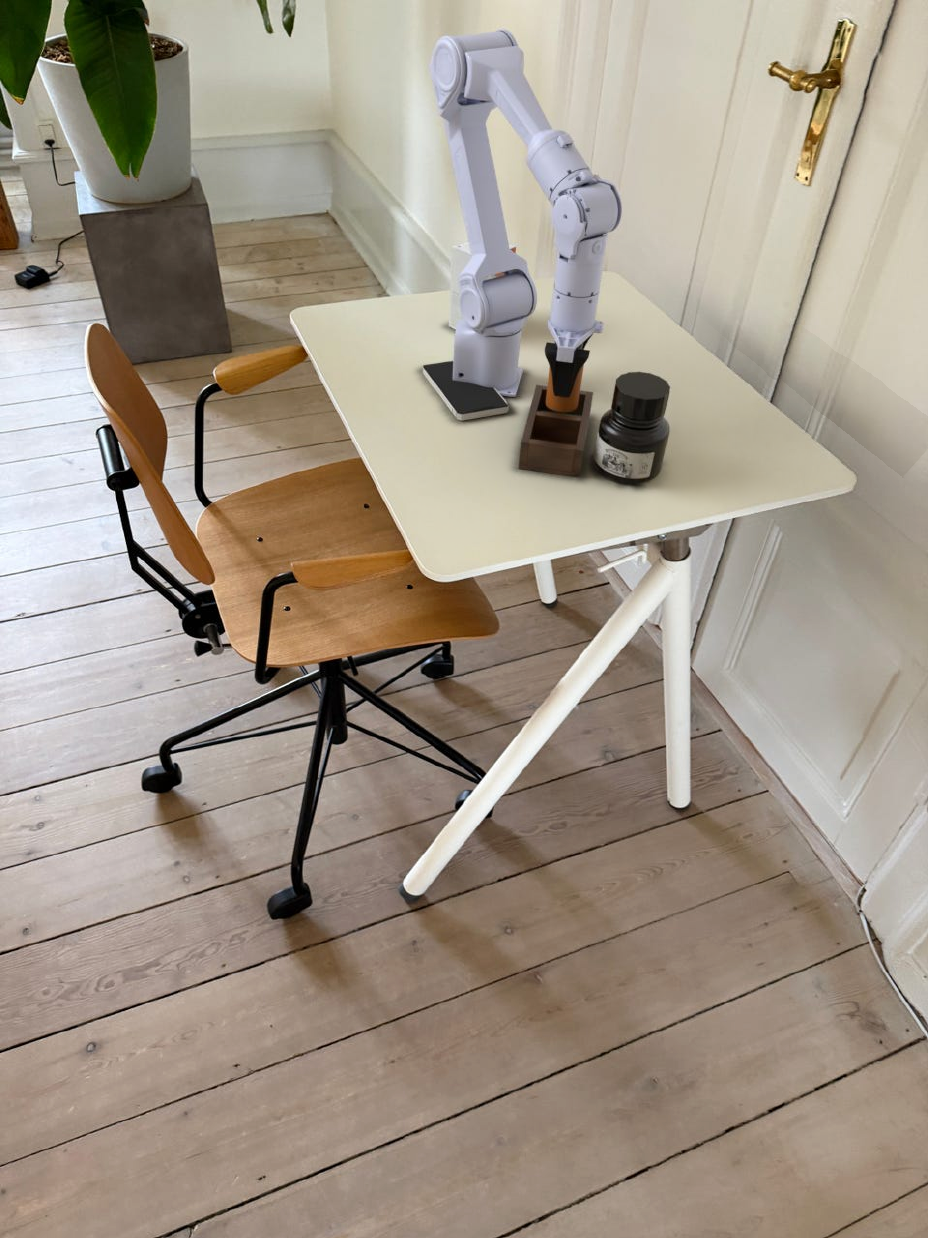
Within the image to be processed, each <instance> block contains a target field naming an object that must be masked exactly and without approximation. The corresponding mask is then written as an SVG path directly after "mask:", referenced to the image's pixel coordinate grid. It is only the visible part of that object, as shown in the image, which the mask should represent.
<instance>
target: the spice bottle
mask: <svg viewBox="0 0 928 1238" xmlns="http://www.w3.org/2000/svg"><path fill="white" fill-rule="evenodd" d="M582 347H583V343H582V344H580V345H579V346H578V347H577V348H576V349H582ZM584 365H585V364H584ZM584 365H583V366H582V367H581V369H580V371H579V373H578V375H577V378H576V381H575V384H574V387H573V390H572V392H571V395H570V397H569V398H567V397H560V396H554V393H553V386H552V374H551V369H550V368H549V371H548V378H547V386H548V387H547V395H546V405H547V407H548V408H549V409H551V410H553V411H556V412H563V413H565V412H571V411H574V410H575V409H577V407H578V402H579V395H580V391H581V388H582V387H581V386H582V380H583V373H584Z"/></svg>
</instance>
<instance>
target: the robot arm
mask: <svg viewBox="0 0 928 1238" xmlns="http://www.w3.org/2000/svg"><path fill="white" fill-rule="evenodd" d="M428 68H429V73H430V77H431V82H432V87H433V91H434V96H435V103H436V106H437V111H438V115H439V116H440V117H441V118H442V119H443V124H444V130H445V135H446V139H447V144H448V148H449V153H450V158H451V159H450V160H451V163H452V168H453V173H454V178H455V184H456V188H457V194H458V198H459V203H460V207H461V212H462V217H463V222H464V223H463V224H464V227H465V231H466V237H467V241H468V242H469V247H470V252H471V257H472V258H471V260H470V261H469V262H468V264H467V265H466V267H465V268H464V269H463V271H462V272H461V273H460V275H459V277H458V281H459V287H460V299H459V306H460V311H461V315H462V317H463V319H460V320H459V321H458V324H457V328H456V330H455V333H454V342H453V357H452V358H453V360H452V361H453V380H454V381H460V382H468V383H474V384H478V385H481V386H485V387H492V388H495V389H496V390H497V391H498V392H499V393H500V395H501V396H502V397H511V398H515V397H516V396H517V393H518V390H519V387H520V382H521V379H522V376H523V373H524V369H522V368H520V367H519V363H520V351H521V339H522V331H523V326H526V325H527V320H528V317H530V316H531V315H532V314H534V312H535V311H536V308H537V304H538V291H537V287H536V284H535V282H534V281H533V279H532V277H531V275H530V271H529V268H528V262H527V260H526V259H524V258H523V257H522V256H520V255H519V254H518V253H517V252H516V253H514V252H513V251H511V250H510V248H509V244H510V243H509V239H508V234H507V233H508V232H507V227H506V222H505V218H504V212H503V207H502V202H501V196H500V192H499V186H498V180H497V175H496V170H495V166H494V165H495V164H494V160H493V155H492V149H491V145H490V139H489V133H488V129H487V121H488V119H489V116H490V115H491V112H493V110H495V109H496V108H497V109H498V110H499V111H500V112H501V114H502V115H503V116H504V117H505V119H506V120H507V122H508V124H510V125H511V127H512V128H513V130H514V131H515V133H516V134H517V136H518V137H519V138H520V139H521V140H522V141H523V143H524V145H525V146H526V147H527V154H526V160H525V161H526V166H527V167H528V169H529V171H530V173H531V175H532V176H533V177H534V179H535V181H536V182H537V184H538V186H539V187H540V188H541V190H542V192H543V193H544V195H545V196H546V198H547V200H548V201H549V203H550V205H551V206H552V207H551V208H550V220H551V225H552V228H553V232H554V241H553V242H554V244H553V246H554V247H555V248H554V249H555V252H557V253H556V261H555V270H554V271H555V272H554V279H553V287H552V297H551V306H550V314H549V317H548V320H547V328H548V330H549V332H550V334H551V336H552V338H553V339H554V342H548V341H546V343H545V346H544V355H545V358H546V360H547V363H548V365H549V369H551V374H552V386H553V393H554V396H560V397H567V398H569V397H570V395H571V392H572V390H573V387H574V384H575V381H576V378H577V375H578V373H579V371H580V369H581V367H582V366H583V365H585V364H586V362H587V360H588V359H589V357H590V353H591V350H590V349H585V348H586V345H588V342H589V340H590V339H591V338H592V336H593V335H594V334H602V333H603V332H604V326H605V323H604V322H603V321H599V320H596V317H597V311H598V303H599V296H600V290H601V284H602V278H603V277H602V276H603V271H604V263H605V257H606V249H607V244H608V243H607V242H608V236H609V233H612V232H613V231H615V230H616V229H617V228H618V227H619V225H620V222H621V220H622V213H623V207H622V206H623V205H622V200H621V196H620V194H619V191H618V190H617V187H616V185H615V184H614V183H613V182H611V180H607V179H602V178H601V177H600V175H599V174H594V173H593V172H592V170H591V169H590V167H589V165H588V164H587V162H586V160H585V159H584V157H583V156H582V154H581V153H580V151H579V150H578V148H577V146H576V145H575V142H574V139H573V138H572V136H571V135H570V134H569V133H568V132H567V131H565V130H562V129H553V128H552V125H551V124H550V122H549V120H548V118H547V116H546V114H545V112H544V110H543V108H542V106H541V104H540V103H539V101H538V99H537V97H536V95H535V93H534V91H533V89H532V87H531V85H530V83H529V81H528V79H527V78H526V76H525V74H524V68H525V56H524V52H523V50H522V48H520V46H519V44H518V42H517V40H516V38H515V36H514V34H513V33H512V32H510V30H507V29H504V28H502V29H498V30H495V31H489V32H481V33H473V34H464V35H463V34H462V35H454V36H452V35H443V36H441V37H440V38H439V39H438V41H436V44H435V46H434V49H433V53H432V55H431V59H430V63H429V67H428ZM498 273H503V274H504V276H500V277H496V278H492V279H488V280H485V281H484V279H485V278H486V277H488V276H490V275H494V274H498ZM582 343H583V347H582V349H576V348H577V347H578V346H579V345H580V344H582ZM460 373H463V374H464V376H460V375H459V374H460Z"/></svg>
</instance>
